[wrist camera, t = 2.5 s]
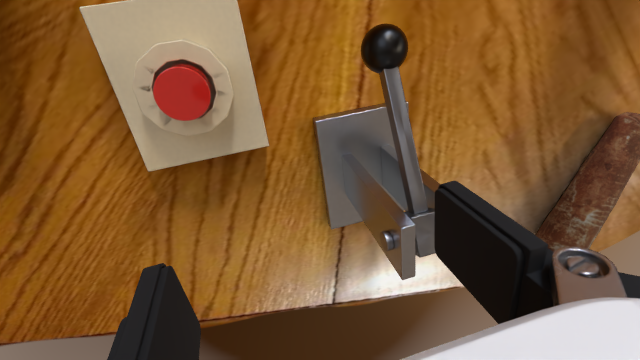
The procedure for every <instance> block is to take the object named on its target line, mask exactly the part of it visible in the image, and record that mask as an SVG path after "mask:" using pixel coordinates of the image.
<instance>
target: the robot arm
mask: <svg viewBox="0 0 640 360" xmlns="http://www.w3.org/2000/svg"><path fill="white" fill-rule="evenodd" d="M434 248H435V252H436V254H437V256H438V257H439V259H440V260H441V261H442V262H443V263H444V264H445V265H446V266H447V267H448V269H449V270H450V271H451V272H452V273H453V274H454V275H455V276H456V277H457V279H458V280H459V281H460V282H461V283H462V284H463V285H464V286H465V287H466V288H467V290H468V291H469V292H470V293H471V294H472V295H473V296H474V297H475V298H476V300H477V301H478V302H479V303H480V304H481V305H482V306H483V307H484V308H485V309H486V311H487V312H488V313H489V314H490V315H491V316H492V317H493V318H494V320H495V321H496V322H497V323H498V325H495V326H493V327H490V328H487V329H484V330H482V331H479V332H476V333H473V334H470V335H467V336H465V337H462V338H459V339H456V340H454V341H451V342H448V343H445V344H442V345H440V346H437V347H434V348H431V349H429V350H426V351H423V352H420V353H417V354H415V355H412V356H409V357H406V358H404V359H401V360H640V276H634V275H629V274H625V273H619V272H618V271H617V268H616V267H615V265H614V264H613V262H612V261H610V260H609V259H608V258H607V257H606V256H604V255H602V254H600V253H598V252H596V251H593V250H590V249H587V248H582V247H574V246H568V247H562V248H559V249H557V250H556V251H555V252H553V251H551V250H550V249H549V248H548V244H547V243H546V242H544V241H543V240H541V239H540V238H538V237H537V236H535V235H534V234H533V233H531V232H530V231H528V230H527V229H525V228H524V227H522V226H521V225H519V224H518V223H517V222H515V221H514V220H512V219H511V218H509V217H508V216H506V215H505V214H504V213H502V212H501V211H499V210H498V209H496V208H495V207H493V206H492V205H491V204H489V203H488V202H486V201H485V200H483V199H482V198H480V197H479V196H478V195H476V194H475V193H473V192H472V191H470V190H469V189H467V188H466V187H465V186H463V185H462V184H460V183H459V182H457V181H451V182H448V183H444V184H441V185H439V187H438V190H436V191H435V217H434ZM200 335H201V329H200V324H199V321H198V319H197V317H196V315H195V313H194V311H193V309H192V306H191V304H190V302H189V300H188V298H187V296H186V294H185V292H184V290H183V288H182V286H181V284H180V282H179V280H178V278H177V275H176V273H175V271H174V269H173V268H172V266H167V267H166V265H165V264H164V263H161V264H158V265H154V266H151V267H147V268H144V269H143V271H142V274H141V277H140V280H139V283H138V286H137V289H136V292H135V295H134V298H133V301H132V304H131V307H130V310H129V313H128V316H127V317H125V318H124V319H123V320H122V321H121V323H120V325H119V328H118V331H117V333H116V337H115V339H114V342H113V345H112V348H111V351H110V354H109V357H108V359H107V360H199V348H200Z"/></svg>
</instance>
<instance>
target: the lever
mask: <svg viewBox="0 0 640 360" xmlns="http://www.w3.org/2000/svg"><path fill="white" fill-rule="evenodd" d="M407 52H408V42H407V38H406V36H405V34H404V33H403V31H402V30H401V29H400V28H398V27H397V26H395V25H392V24H381V25H377V26H375V27H373V28H372V29H371V30H370V31H369V32H368V33H367V34H366V35H365V37H364V39H363V41H362V45H361V56H362V59H363V62H364V63H365V65H366V66H367V67H368V68H369V69H370V70H372V71H374V72H376V73H379V75H380V80H381V84H382V89H383V94H384V99H385V103H386V108H387V113H388V117H389V122H390V127H391V131H392V136H393V141H394V145H395V150H396V155H397V159H398V164H399V169H400V173H401V178H402V183H403V187H404V192H405V197H406V201H407V206H408V211H406V212H404V213H405V214H406V215H407V216H408V217H409V218H410V219H411V220H412V222H413V223H414V224H415V255H417V256H419V257H424V256H427V255H431V254H434V253H436V252H435V248H434V217H435V209H433V208H428V206H427V201H426V196H425V192H424V187H423V182H422V177H421V173H420V168H419V163H418V158H417V154H416V149H415V144H414V139H413V135H412V130H411V125H410V120H409V116H408V111H407V106H406V101H405V97H404V92H403V87H402V82H401V78H400V73H399V67H400V66H401V64H402V63H403V62H404V60H405V58H406V56H407Z"/></svg>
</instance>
